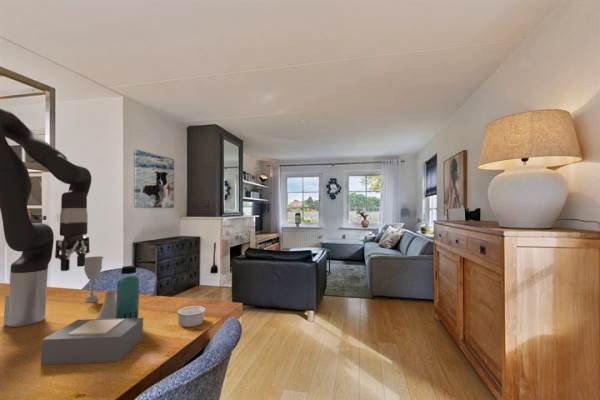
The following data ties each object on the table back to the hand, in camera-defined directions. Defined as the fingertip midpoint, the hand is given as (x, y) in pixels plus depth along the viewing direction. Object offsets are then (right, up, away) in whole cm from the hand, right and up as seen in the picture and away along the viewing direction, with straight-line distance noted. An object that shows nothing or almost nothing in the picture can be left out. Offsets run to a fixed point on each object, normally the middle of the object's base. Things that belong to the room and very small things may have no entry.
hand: (73, 268), depth 96 cm
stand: (+23, -17, -21) cm, 36 cm away
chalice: (-10, -19, +21) cm, 30 cm away
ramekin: (+41, -19, -1) cm, 45 cm away
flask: (+12, -18, +1) cm, 22 cm away
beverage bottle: (+23, -18, -7) cm, 30 cm away
